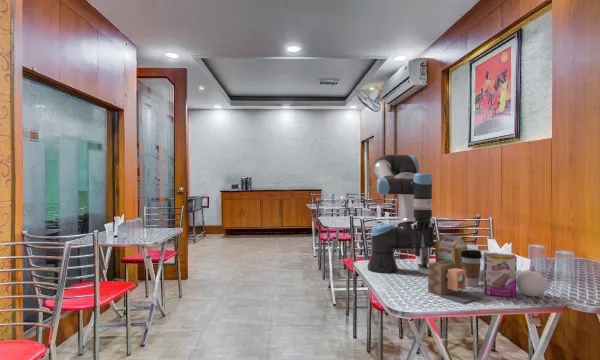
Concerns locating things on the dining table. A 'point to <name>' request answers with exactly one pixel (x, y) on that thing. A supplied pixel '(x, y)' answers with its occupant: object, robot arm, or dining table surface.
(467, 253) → the coffee cup
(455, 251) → the milk carton
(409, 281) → the dining table surface
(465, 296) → the mat
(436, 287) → the brown notched block
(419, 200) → the robot arm
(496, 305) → the dining table surface
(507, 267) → the candy bar box
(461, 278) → the shaft
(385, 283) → the dining table surface
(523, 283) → the ornament
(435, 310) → the dining table surface
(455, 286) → the spacer
